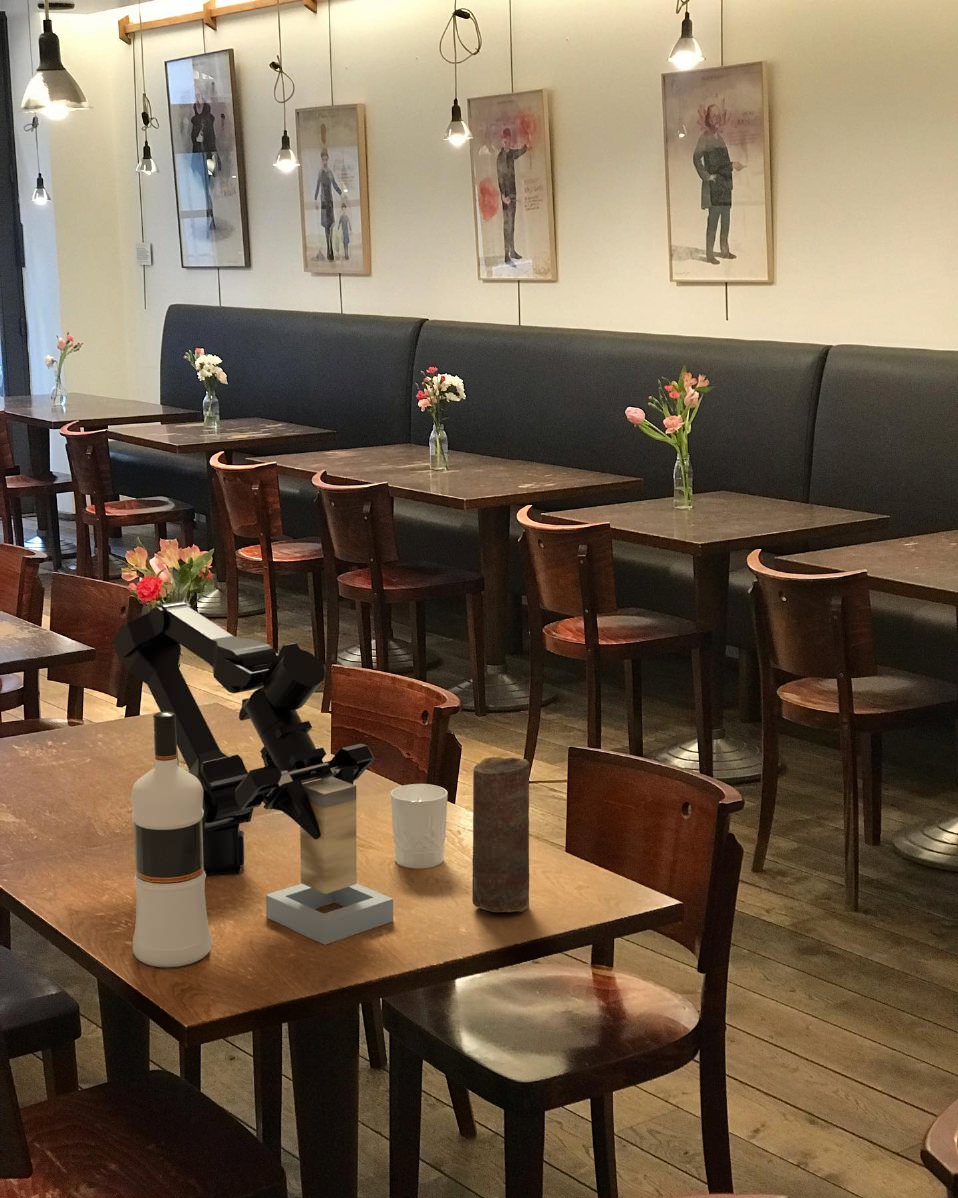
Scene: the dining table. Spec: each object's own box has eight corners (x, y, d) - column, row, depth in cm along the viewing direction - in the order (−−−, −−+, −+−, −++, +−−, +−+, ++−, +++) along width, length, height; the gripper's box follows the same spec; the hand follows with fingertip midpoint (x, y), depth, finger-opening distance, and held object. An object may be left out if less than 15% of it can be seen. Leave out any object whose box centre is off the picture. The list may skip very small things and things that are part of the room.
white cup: (440, 872, 220) (440, 803, 218) (384, 868, 221) (384, 799, 219) (452, 853, 227) (453, 785, 225) (399, 849, 229) (398, 782, 227)
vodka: (117, 956, 191) (107, 714, 186) (176, 933, 199) (168, 698, 193) (168, 977, 186) (160, 727, 180) (227, 952, 193) (221, 711, 187)
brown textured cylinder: (509, 925, 202) (510, 772, 198) (460, 913, 205) (460, 763, 202) (539, 906, 208) (541, 758, 204) (491, 894, 212) (492, 749, 208)
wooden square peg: (300, 883, 202) (299, 784, 200) (332, 873, 206) (331, 776, 203) (325, 894, 199) (324, 794, 196) (356, 884, 202) (356, 785, 200)
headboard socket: (266, 917, 204) (265, 894, 203) (334, 895, 211) (333, 873, 211) (324, 945, 195) (324, 921, 195) (393, 921, 203) (393, 898, 202)
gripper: (311, 748, 217) (364, 847, 211) (195, 776, 204) (247, 882, 199) (348, 704, 210) (403, 804, 204) (230, 730, 197) (285, 838, 192)
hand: (335, 833), depth 200 cm, fingers closed on wooden square peg, 5 cm apart
